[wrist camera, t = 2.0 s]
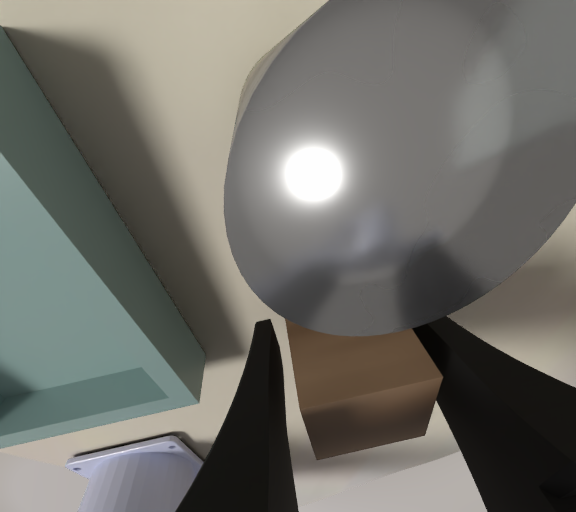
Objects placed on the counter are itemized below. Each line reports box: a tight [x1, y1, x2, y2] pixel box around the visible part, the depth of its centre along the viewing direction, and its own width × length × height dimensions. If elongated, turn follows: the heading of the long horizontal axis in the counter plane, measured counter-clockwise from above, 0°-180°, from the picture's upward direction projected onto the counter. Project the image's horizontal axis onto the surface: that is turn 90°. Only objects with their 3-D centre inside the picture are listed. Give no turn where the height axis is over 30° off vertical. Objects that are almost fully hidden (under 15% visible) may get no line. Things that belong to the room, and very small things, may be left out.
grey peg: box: [224, 0, 576, 336], centre depth 6 cm, size 4×4×7 cm
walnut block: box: [285, 319, 443, 460], centre depth 11 cm, size 4×4×6 cm
